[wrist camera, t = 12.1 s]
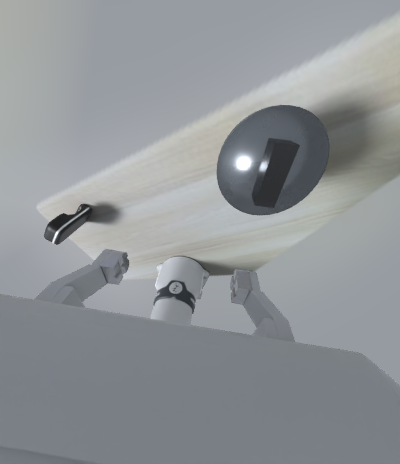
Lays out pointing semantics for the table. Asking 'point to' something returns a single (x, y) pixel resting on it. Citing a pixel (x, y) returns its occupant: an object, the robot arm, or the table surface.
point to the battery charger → (66, 224)
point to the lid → (272, 160)
